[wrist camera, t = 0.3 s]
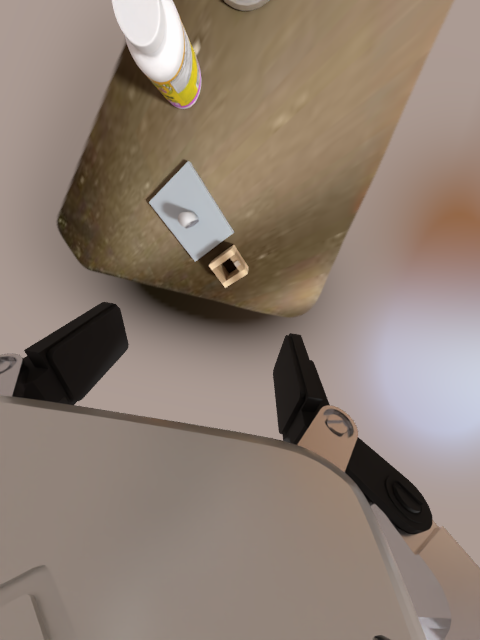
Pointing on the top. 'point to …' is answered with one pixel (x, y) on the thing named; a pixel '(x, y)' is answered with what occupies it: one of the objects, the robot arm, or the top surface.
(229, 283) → the wooden hollow box
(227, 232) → the shaft block
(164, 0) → the supplement bottle
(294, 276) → the top surface
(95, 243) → the top surface
